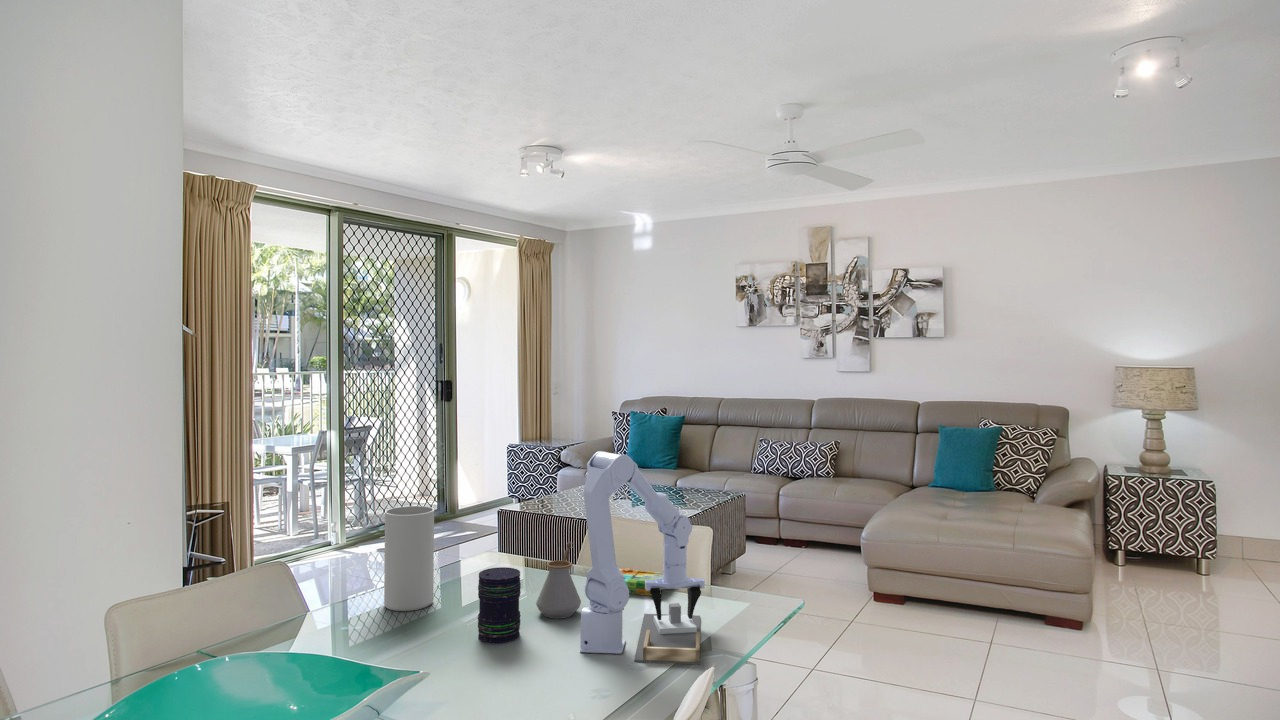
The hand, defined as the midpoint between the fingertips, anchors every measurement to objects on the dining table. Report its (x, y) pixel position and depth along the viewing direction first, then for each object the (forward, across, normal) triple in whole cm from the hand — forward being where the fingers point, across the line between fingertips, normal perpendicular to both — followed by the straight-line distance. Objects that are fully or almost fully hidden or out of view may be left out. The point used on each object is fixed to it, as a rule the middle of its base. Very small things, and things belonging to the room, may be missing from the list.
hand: (674, 618), depth 180 cm
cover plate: (+2, 0, 0) cm, 2 cm away
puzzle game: (+3, -6, +32) cm, 33 cm away
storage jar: (+2, -42, 0) cm, 42 cm away
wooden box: (+2, -3, -15) cm, 15 cm away
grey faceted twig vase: (+2, -26, +18) cm, 32 cm away
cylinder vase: (+2, -67, +26) cm, 72 cm away
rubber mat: (+2, -2, -6) cm, 7 cm away
